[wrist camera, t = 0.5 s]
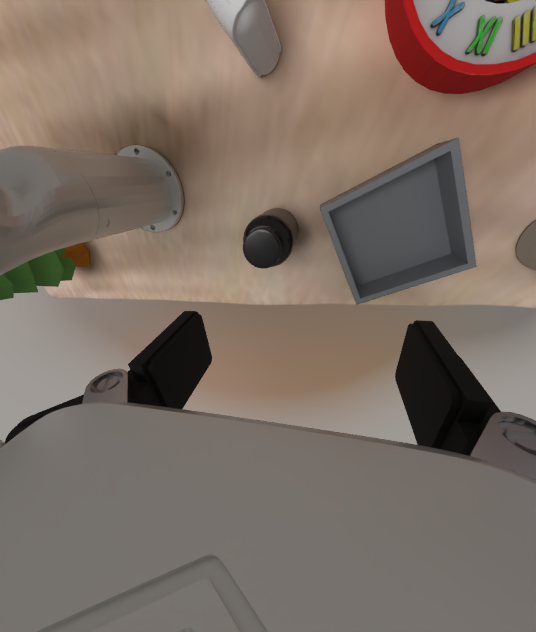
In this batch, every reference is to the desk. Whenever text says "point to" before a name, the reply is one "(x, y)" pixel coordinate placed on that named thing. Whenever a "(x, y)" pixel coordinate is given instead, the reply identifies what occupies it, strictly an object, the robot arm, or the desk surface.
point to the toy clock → (462, 41)
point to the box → (404, 224)
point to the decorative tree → (44, 270)
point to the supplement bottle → (270, 238)
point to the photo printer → (250, 31)
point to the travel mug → (527, 247)
